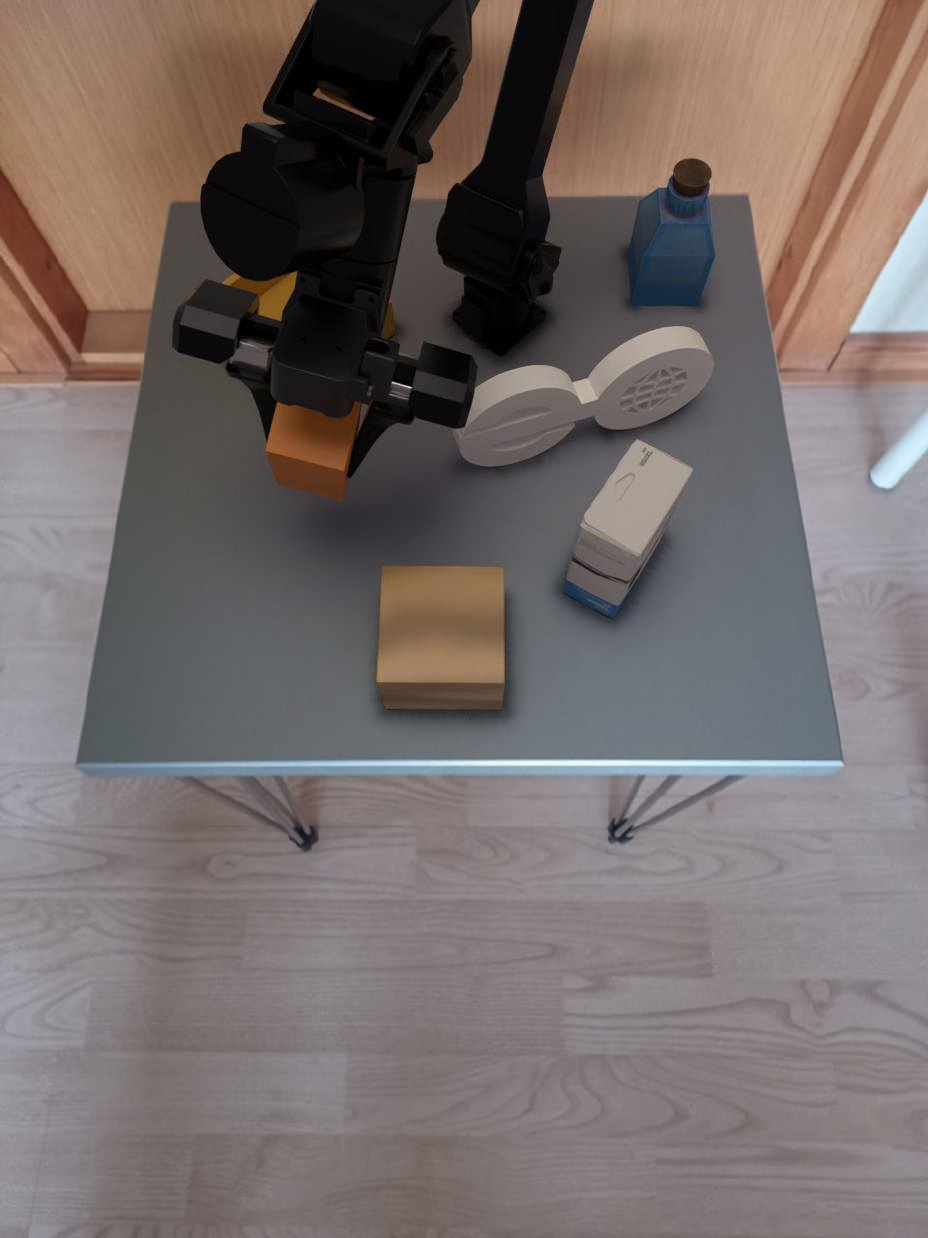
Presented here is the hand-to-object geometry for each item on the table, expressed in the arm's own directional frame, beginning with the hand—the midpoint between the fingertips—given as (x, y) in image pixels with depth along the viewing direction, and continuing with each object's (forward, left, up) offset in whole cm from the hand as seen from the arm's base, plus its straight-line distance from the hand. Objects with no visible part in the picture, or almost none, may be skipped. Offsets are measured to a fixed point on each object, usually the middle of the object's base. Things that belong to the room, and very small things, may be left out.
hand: (311, 465), depth 61 cm
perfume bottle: (-40, +2, -12) cm, 42 cm away
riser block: (+1, +13, -12) cm, 18 cm away
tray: (-12, -18, -12) cm, 25 cm away
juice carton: (-2, -2, -3) cm, 4 cm away
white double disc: (-22, +7, -12) cm, 26 cm away
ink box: (-14, +18, -12) cm, 26 cm away
